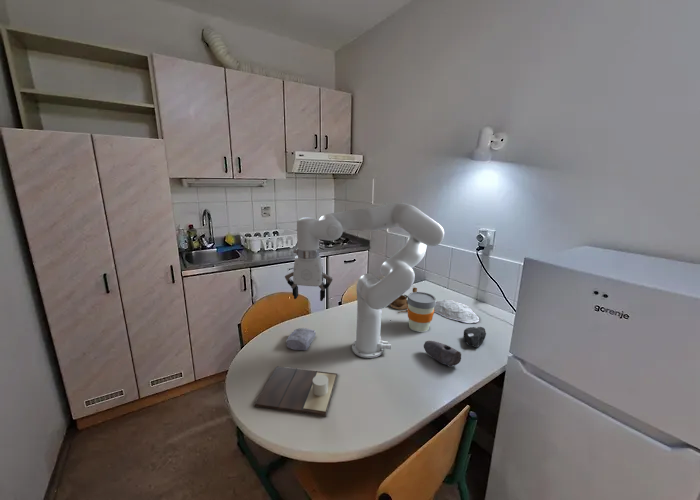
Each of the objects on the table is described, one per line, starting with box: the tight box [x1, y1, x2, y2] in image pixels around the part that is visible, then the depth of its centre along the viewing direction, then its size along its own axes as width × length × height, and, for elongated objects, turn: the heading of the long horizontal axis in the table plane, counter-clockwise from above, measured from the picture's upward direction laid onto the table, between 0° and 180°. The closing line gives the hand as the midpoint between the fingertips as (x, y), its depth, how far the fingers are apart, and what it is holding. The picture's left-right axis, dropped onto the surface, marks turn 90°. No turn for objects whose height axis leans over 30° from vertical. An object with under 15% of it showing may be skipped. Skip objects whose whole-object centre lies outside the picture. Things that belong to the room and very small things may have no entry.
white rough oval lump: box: [434, 299, 480, 324], centre depth 152 cm, size 16×25×7 cm, turn 45°
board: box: [254, 365, 338, 417], centre depth 97 cm, size 22×18×1 cm
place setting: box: [388, 287, 418, 314], centre depth 160 cm, size 18×20×6 cm
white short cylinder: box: [313, 375, 328, 396], centre depth 95 cm, size 5×5×4 cm
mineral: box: [463, 326, 487, 348], centre depth 126 cm, size 10×9×6 cm
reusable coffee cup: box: [406, 291, 436, 333], centre depth 136 cm, size 13×13×15 cm
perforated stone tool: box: [423, 340, 462, 368], centre depth 113 cm, size 15×5×7 cm, turn 40°
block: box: [285, 327, 316, 351], centre depth 123 cm, size 12×5×10 cm
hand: (309, 298), depth 108 cm, fingers open, 9 cm apart
